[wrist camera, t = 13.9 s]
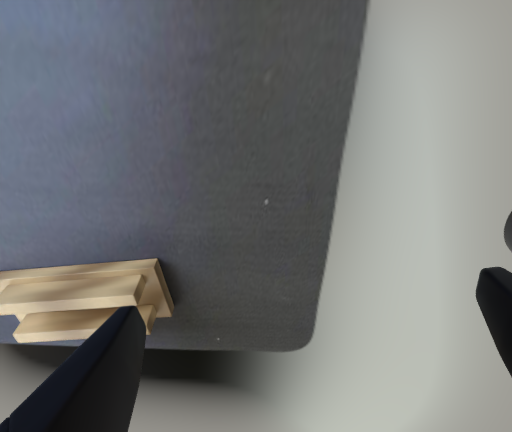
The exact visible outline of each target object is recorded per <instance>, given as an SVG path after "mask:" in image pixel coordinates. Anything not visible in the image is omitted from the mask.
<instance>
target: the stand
mask: <svg viewBox="0 0 512 432" xmlns="http://www.w3.org/2000/svg"><path fill="white" fill-rule="evenodd" d="M130 305H134V306H136V307H137V308H138V310H139V312H140V314H141V316H142V318H143V320H144V322H145V325H146V335H150V334H151V331H152V327H153V324H154V321H155V318H158V317H171V316H172V314H173V310H174V304H173V302H172V299H171V296H170V293H169V290H168V287H167V284H166V282H165V279H164V276H163V273H162V270H161V267H160V265H159V262H158V259H157V258H156V259H144V260H132V261H119V262H107V263H95V264H83V265H71V266H59V267H47V268H35V269H23V270H11V271H0V315H12V314H15V315H16V317H17V318H18V319H19V321H20V322H21V323H20V324H19V326H18V327H17V329H16V330H15V332H14V333H13V336H14V338H15V339H16V340H17V342H18V343H29V342H44V341H60V340H75V339H88V338H89V337H90V336H91V335H92V334H93V333H94V332H95V331H96V330H97V329H98V328H99V327H100V326H101V325H102V324H103V323H104V322H105V321H106V320H107V319H108V318H109V317H110V316H111V315H112V314H113V313H114V312H115V311H116V310H117V309H118V308H120V307H122V306H130Z"/></svg>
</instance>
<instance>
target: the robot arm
mask: <svg viewBox="0 0 512 432" xmlns="http://www.w3.org/2000/svg"><path fill="white" fill-rule="evenodd" d="M476 299H477V302H478V304H479V307H480V309H481V311H482V314H483V316H484V318H485V321H486V323H487V326H488V328H489V330H490V333H491V335H492V337H493V340H494V342H495V345H496V347H497V349H498V351H499V354H500V356H501V358H502V360H503V362H504V364H505V366H506V367H507V369H508V371H509V373H510V375H511V376H512V273H511V272H509V271H507V270H506V269H504V268H501V267H492V268H484V269H482V270H481V272H480V275H479V280H478V284H477V288H476ZM145 340H146V325H145V322H144V320H143V318H142V316H141V314H140V312H139V310H138V308H137V307H136V306H134V305H130V306H122V307H120V308H118V309H117V310H116V311H115V312H114V313H113V314H112V315H111V316H110V317H109V318H108V319H107V320H106V321H105V322H104V323H103V324H102V325H101V326H100V327H99V328H98V329H97V330H96V331H95V332H94V333H93V334H92V335H91V336H90V337H89V338H88V339H87V340H86V341H85V342H84V343H83V344H82V345H80V346H79V347H78V349H76V350H75V351H74V352H73V353H72V354H71V355H70V356H69V358H67V359H66V360H65V361H64V362H63V363H62V364H61V365H60V366H59V367H58V368H57V369H56V370H55V371H54V372H53V373H52V374H51V375H50V376H49V377H48V378H47V379H46V380H45V381H44V382H43V383H42V384H41V385H40V386H39V387H38V388H37V389H36V390H35V391H34V392H33V393H32V394H31V395H30V396H29V397H28V398H27V399H26V400H25V401H24V402H23V403H22V404H21V405H20V406H19V407H18V408H17V409H16V410H14V411H13V413H11V415H10V418H9V417H8V418H6V419H5V420H4V421H3V422H2V423H1V424H0V432H128V428H129V424H130V420H131V416H132V412H133V408H134V404H135V400H136V396H137V392H138V387H139V382H140V375H141V368H142V361H143V354H144V347H145Z"/></svg>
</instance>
